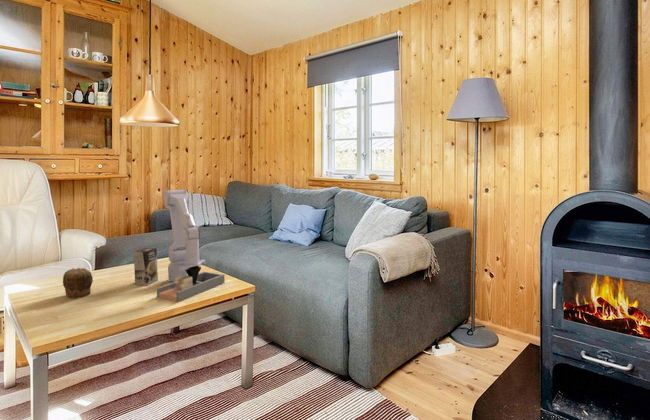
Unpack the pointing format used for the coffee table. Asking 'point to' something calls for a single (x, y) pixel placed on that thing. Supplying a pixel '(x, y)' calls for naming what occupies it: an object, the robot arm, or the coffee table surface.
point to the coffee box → (145, 266)
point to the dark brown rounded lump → (77, 282)
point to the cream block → (183, 282)
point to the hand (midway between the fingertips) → (193, 282)
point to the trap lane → (201, 285)
